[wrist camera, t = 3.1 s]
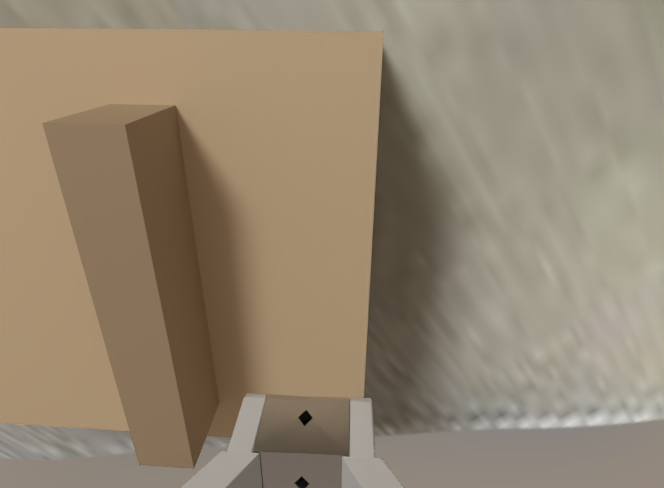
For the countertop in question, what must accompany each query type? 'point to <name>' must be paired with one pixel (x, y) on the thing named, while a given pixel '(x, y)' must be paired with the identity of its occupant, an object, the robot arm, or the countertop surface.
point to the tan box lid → (183, 225)
